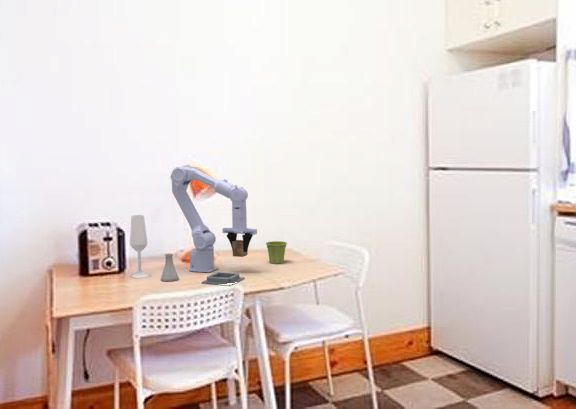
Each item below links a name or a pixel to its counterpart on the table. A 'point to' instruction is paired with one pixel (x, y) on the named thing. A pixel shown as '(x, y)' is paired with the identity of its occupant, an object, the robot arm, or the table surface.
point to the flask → (169, 269)
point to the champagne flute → (138, 240)
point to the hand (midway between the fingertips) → (240, 251)
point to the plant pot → (276, 251)
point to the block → (238, 248)
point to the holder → (223, 278)
